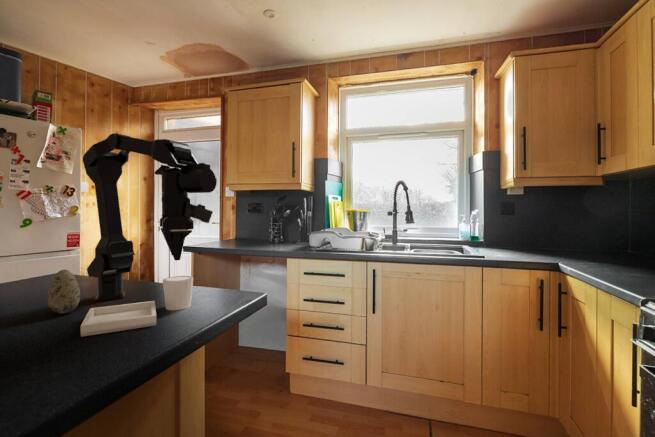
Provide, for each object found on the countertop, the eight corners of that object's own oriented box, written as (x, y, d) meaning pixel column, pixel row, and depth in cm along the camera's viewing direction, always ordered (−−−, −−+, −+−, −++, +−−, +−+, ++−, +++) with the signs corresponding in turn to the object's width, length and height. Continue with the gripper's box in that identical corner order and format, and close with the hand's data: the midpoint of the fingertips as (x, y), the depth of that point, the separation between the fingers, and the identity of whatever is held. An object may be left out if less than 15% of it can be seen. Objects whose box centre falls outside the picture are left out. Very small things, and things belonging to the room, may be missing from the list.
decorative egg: (77, 307, 81) (76, 266, 80) (83, 312, 77) (82, 269, 77) (45, 313, 76) (44, 269, 76) (50, 318, 72) (49, 273, 72)
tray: (90, 317, 73) (90, 308, 73) (154, 309, 79) (154, 300, 79) (80, 336, 62) (80, 326, 62) (156, 325, 68) (156, 315, 68)
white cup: (156, 308, 80) (156, 279, 80) (180, 301, 86) (180, 274, 86) (175, 312, 77) (175, 282, 77) (199, 305, 83) (199, 277, 83)
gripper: (216, 192, 76) (217, 260, 77) (204, 195, 93) (204, 251, 93) (162, 191, 71) (163, 264, 71) (159, 194, 87) (160, 253, 88)
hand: (175, 257), depth 81 cm, fingers open, 9 cm apart
